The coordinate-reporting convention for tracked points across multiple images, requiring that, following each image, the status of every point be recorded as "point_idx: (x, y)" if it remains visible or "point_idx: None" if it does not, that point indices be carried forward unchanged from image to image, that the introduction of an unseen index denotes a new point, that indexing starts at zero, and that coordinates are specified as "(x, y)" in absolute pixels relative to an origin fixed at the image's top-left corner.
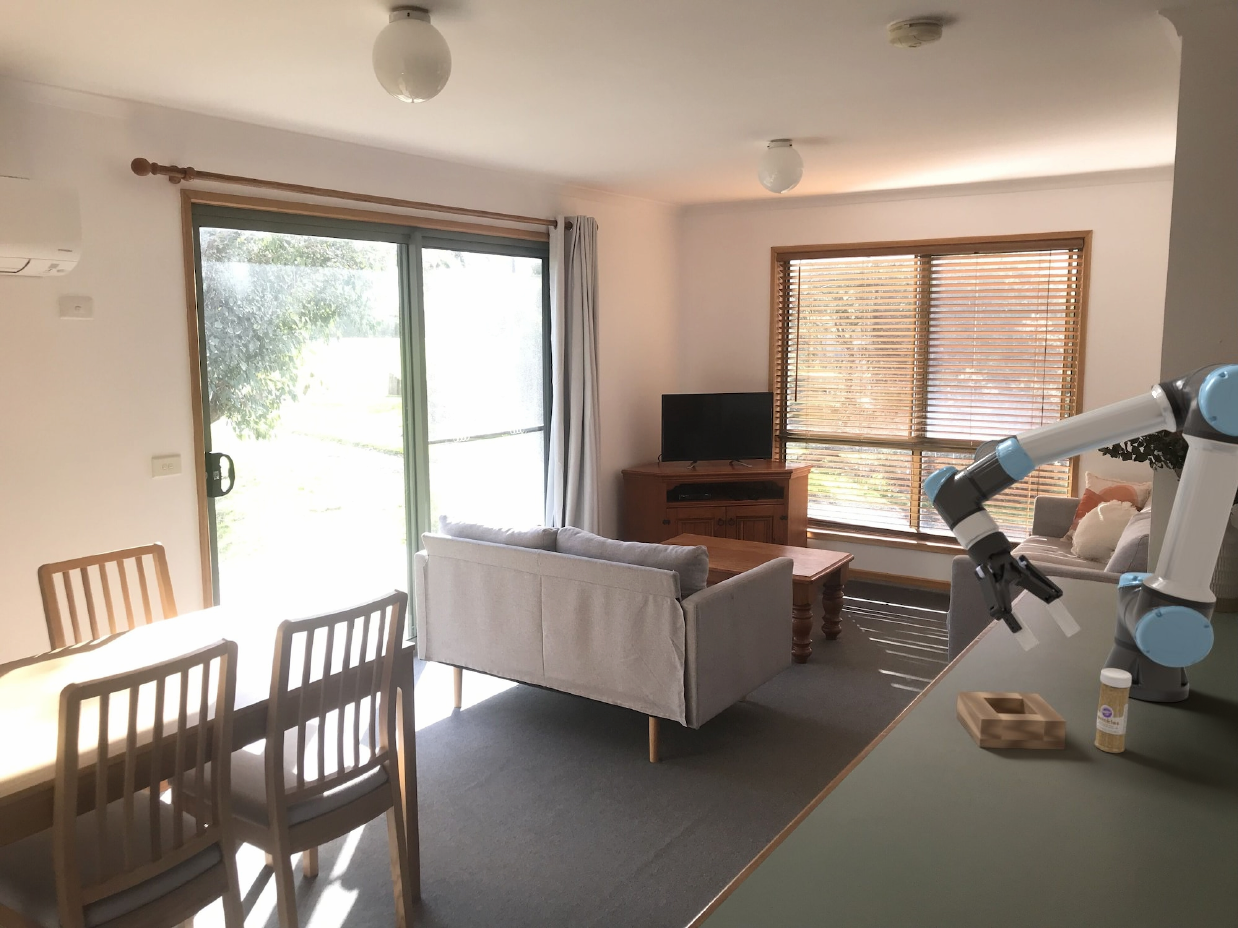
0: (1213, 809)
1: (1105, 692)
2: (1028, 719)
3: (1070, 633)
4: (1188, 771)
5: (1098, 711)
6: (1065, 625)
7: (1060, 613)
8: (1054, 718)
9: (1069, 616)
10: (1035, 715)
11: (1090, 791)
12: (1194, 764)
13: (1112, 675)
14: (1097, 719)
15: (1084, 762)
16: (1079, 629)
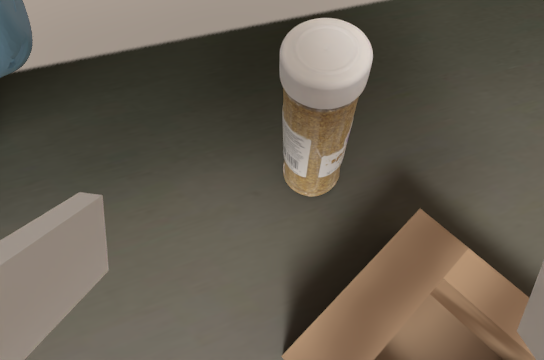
0: (410, 9)
1: (356, 103)
2: (504, 284)
3: (101, 252)
4: None
5: (337, 153)
6: (70, 276)
7: (5, 310)
8: (430, 236)
9: (34, 239)
10: (457, 282)
11: (531, 132)
12: (264, 60)
13: (369, 47)
14: (333, 165)
15: (422, 181)
16: (94, 195)
